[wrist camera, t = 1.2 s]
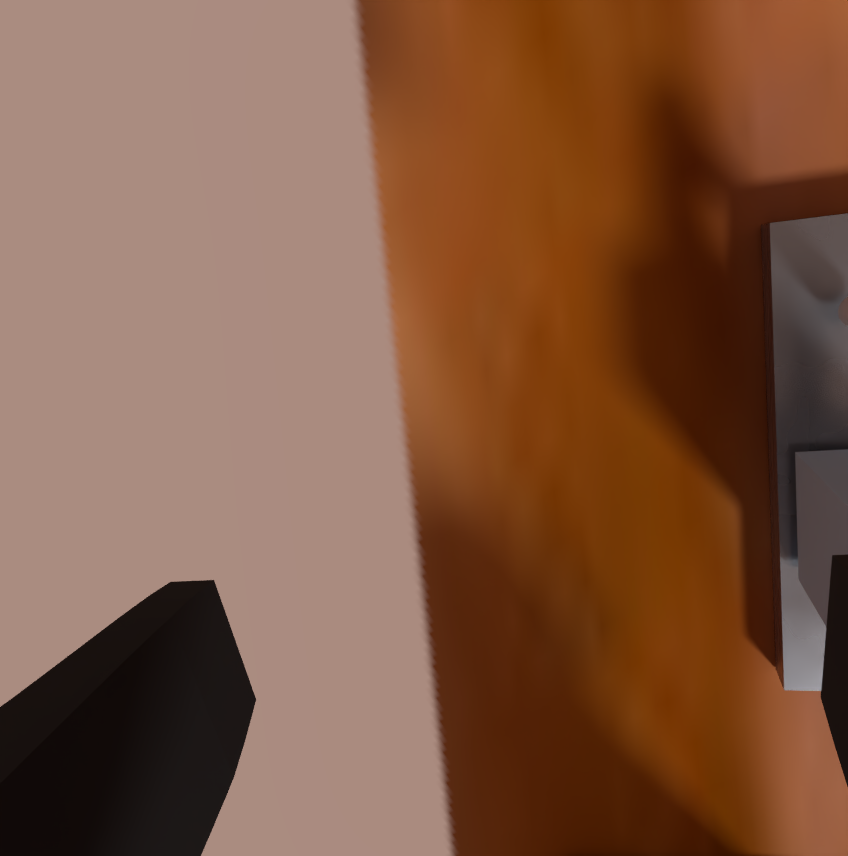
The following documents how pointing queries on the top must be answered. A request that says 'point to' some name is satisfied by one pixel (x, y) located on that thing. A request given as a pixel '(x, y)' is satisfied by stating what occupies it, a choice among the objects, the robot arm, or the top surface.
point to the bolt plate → (802, 409)
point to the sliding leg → (821, 513)
